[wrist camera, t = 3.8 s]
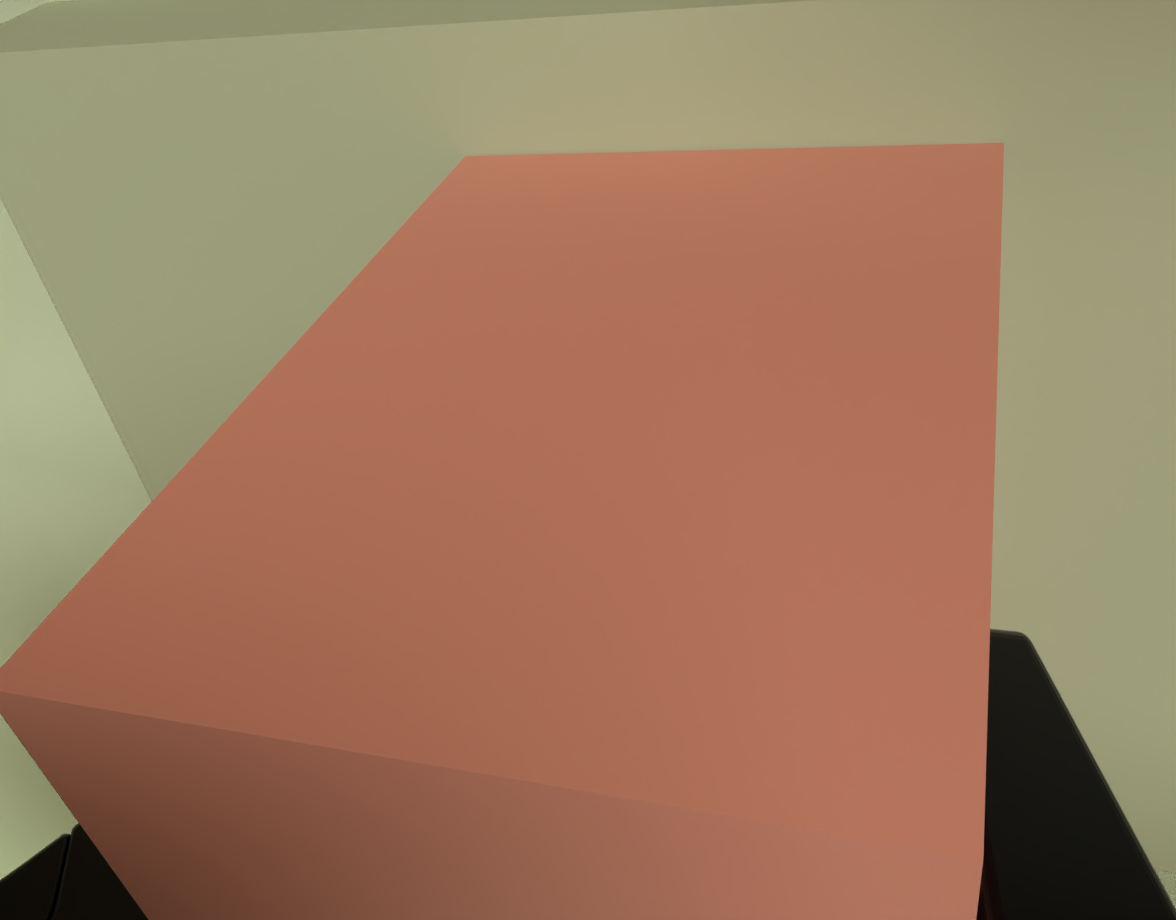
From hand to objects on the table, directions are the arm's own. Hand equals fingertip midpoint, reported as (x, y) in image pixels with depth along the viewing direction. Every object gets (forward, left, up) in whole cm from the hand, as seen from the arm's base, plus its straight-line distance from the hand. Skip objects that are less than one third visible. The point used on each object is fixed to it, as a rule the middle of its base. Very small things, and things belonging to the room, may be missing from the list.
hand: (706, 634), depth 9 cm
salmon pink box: (0, 0, -2) cm, 2 cm away
